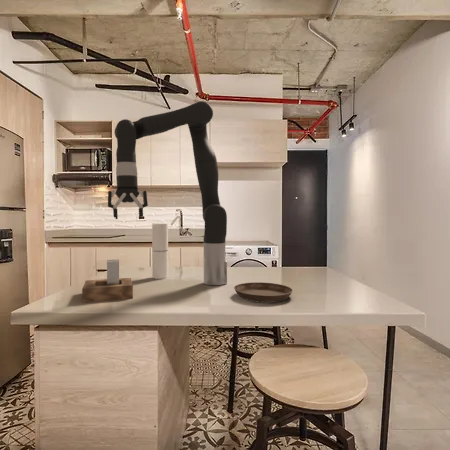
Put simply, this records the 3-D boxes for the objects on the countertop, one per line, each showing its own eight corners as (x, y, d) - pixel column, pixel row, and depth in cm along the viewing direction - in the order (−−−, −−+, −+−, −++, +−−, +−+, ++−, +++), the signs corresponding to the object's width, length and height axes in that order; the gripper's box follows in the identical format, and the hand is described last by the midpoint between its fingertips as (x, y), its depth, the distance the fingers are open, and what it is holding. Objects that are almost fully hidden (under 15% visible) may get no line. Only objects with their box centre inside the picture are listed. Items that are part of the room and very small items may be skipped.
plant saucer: (280, 289, 124) (280, 280, 124) (302, 303, 104) (302, 293, 104) (229, 291, 121) (229, 282, 121) (241, 306, 101) (241, 296, 100)
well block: (130, 289, 123) (130, 277, 122) (132, 298, 109) (132, 285, 109) (85, 292, 117) (85, 280, 117) (82, 302, 104) (82, 288, 104)
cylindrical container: (149, 278, 144) (148, 223, 143) (158, 275, 151) (157, 223, 150) (162, 279, 141) (162, 223, 141) (171, 276, 148) (170, 223, 147)
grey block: (118, 291, 117) (118, 259, 117) (119, 295, 112) (119, 261, 111) (98, 293, 115) (98, 260, 115) (97, 297, 109) (97, 262, 109)
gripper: (145, 176, 124) (146, 218, 125) (106, 176, 120) (108, 219, 120) (147, 174, 117) (148, 218, 118) (106, 173, 112) (108, 219, 113)
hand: (128, 218), depth 119 cm, fingers open, 8 cm apart
